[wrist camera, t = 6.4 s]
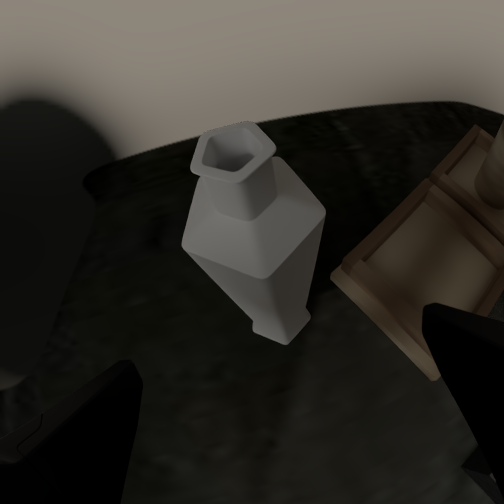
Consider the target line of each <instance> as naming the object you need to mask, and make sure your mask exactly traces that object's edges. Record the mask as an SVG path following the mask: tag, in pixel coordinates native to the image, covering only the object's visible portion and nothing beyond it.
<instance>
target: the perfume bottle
mask: <svg viewBox="0 0 504 504" xmlns="http://www.w3.org/2000/svg"><path fill="white" fill-rule="evenodd" d="M275 152H276V146H275V144H274V143H273V142H272V141H271V140H270V139H269V137H268V136H267V135H266V134H265V133H264V132H263V131H262V130H261V129H260V128H259V127H258V126H257V125H256V124H255V123H253V122H249V121H246V122H240V123H236V124H232V125H228V126H224V127H221V128H217V129H213V130H209V131H207V132H205V133H203V134H202V135H201V137H200V138H199V141H198V144H197V147H196V150H195V153H194V156H193V159H192V162H191V168H190V169H191V171H192V172H193V173H195V174H197V175H199V176H201V177H200V178H199V180H198V183H197V186H196V190H195V194H194V197H193V201H192V205H191V208H190V212H189V216H188V220H187V224H186V228H185V231H184V235H183V239H182V247H183V249H184V250H185V251H186V252H187V253H188V254H189V255H190V256H191V257H192V258H193V259H194V260H195V261H196V262H197V264H198V265H199V266H200V267H201V268H202V269H203V270H204V271H205V272H206V273H207V274H208V275H209V276H210V277H211V278H212V279H213V280H214V281H215V282H216V283H217V284H218V285H219V286H220V287H221V288H222V289H223V290H224V291H225V293H226V294H227V295H228V296H229V297H230V298H231V299H232V300H233V301H234V302H235V303H236V304H237V305H238V306H239V307H240V308H241V309H242V310H243V311H244V312H245V313H246V314H247V315H248V316H249V317H250V318H251V319H252V320H253V331H254V332H255V333H257V334H260V335H262V336H264V337H267V338H269V339H272V340H274V341H276V342H279V343H281V344H284V345H287V344H289V343H290V342H291V341H292V339H293V338H294V337H295V336H296V335H297V334H298V333H299V332H300V330H301V329H302V328H303V327H304V326H305V325H306V324H307V322H308V321H309V320H310V319H311V315H310V313H309V312H308V310H307V309H306V303H307V299H308V294H309V290H310V286H311V281H312V277H313V272H314V268H315V263H316V259H317V254H318V249H319V245H320V240H321V235H322V230H323V225H324V220H325V215H326V210H325V208H324V206H323V205H322V204H321V203H320V202H319V200H318V199H317V198H316V197H315V196H314V195H313V193H312V192H311V191H310V190H309V189H308V188H307V186H306V185H305V184H304V183H303V182H302V181H301V179H300V178H299V177H298V176H297V175H296V174H295V173H294V171H293V170H292V169H291V168H290V167H289V166H288V165H287V164H286V162H285V161H284V160H283V159H281V158H280V157H272V156H273V154H274V153H275Z"/></svg>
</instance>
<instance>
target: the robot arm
mask: <svg viewBox="0 0 504 504" xmlns="http://www.w3.org/2000/svg"><path fill="white" fill-rule="evenodd" d="M422 335H423V337H424V339H425V342H426V344H427V346H428V348H429V350H430V352H431V355H432V357H433V359H434V361H435V364H436V366H437V368H438V370H439V372H440V374H441V376H442V378H443V380H444V381H445V383H446V385H447V387H448V388H449V390H450V392H451V394H452V396H453V397H454V399H455V401H456V403H457V405H458V406H459V408H460V410H461V412H462V414H463V416H464V417H465V419H466V421H467V423H468V425H469V427H470V429H471V431H472V433H473V435H474V437H475V439H476V441H477V443H478V445H479V447H480V449H481V451H482V453H483V455H484V457H485V459H486V461H487V463H488V465H489V467H490V470H491V472H492V474H493V476H494V478H495V480H496V483H497V486H498V488H499V490H500V493H501V495H502V497H503V500H504V322H501V321H498V320H495V319H491V318H488V317H484V316H481V315H478V314H474V313H471V312H467V311H464V310H461V309H457V308H454V307H450V306H447V305H443V304H440V303H437V302H434V303H431V304H427V305H425V306H424V307H423V311H422ZM142 389H143V382H142V379H141V377H140V375H139V373H138V371H137V369H136V367H135V365H134V363H133V362H132V361H131V360H120V361H118V362H116V363H115V364H114V365H112V366H111V367H109V368H108V369H106V370H105V371H103V372H102V373H100V374H99V375H98V376H96V377H95V378H93V379H92V380H90V381H89V382H87V383H86V384H84V385H83V386H81V387H80V388H79V389H77V390H76V391H74V392H73V393H71V394H70V395H68V396H67V397H65V398H64V399H62V400H61V401H59V402H58V403H56V404H55V405H53V406H52V407H50V408H49V409H47V410H46V411H45V412H43V413H41V414H40V415H38V416H37V417H35V418H34V419H32V420H31V421H29V422H28V423H26V424H25V425H23V426H21V427H20V428H18V429H16V430H15V431H13V432H11V433H9V434H8V435H6V436H4V437H2V438H1V439H0V504H120V503H121V498H122V493H123V488H124V483H125V478H126V474H127V469H128V465H129V460H130V456H131V451H132V447H133V443H134V438H135V434H136V430H137V425H138V419H139V411H140V404H141V396H142Z"/></svg>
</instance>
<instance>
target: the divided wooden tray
mask: <svg viewBox="0 0 504 504" xmlns="http://www.w3.org/2000/svg"><path fill="white" fill-rule="evenodd" d="M494 140H495V138H493V137H492V136H491V135H489V134H488V133H487V132H485V131H484V130H483V129H481V128H480V127H479V126H477V125H476V124H475V125H474V126H473V127H472V129H471V130H470V131H469V132H468V133H467V134H466V135H465V136H464V137H463V139H462V140H461V141H460V142H459V143H458V144H457V145H456V146H455V147H454V148H453V150H452V151H451V152H450V153H449V154H448V155H447V156H446V157H445V158H444V159H443V160H442V161H441V162H440V163H439V165H438V166H437V167H436V168H435V169H434V170H433V171H432V172H431V174H430V177H429V178H428V179H427V178H425V179H424V180H423V181H422V182H421V183H420V184H419V185H418V186H417V187H416V188H415V189H414V190H413V191H412V192H411V193H410V194H409V195H408V196H407V198H406V199H405V200H404V201H403V202H402V203H401V204H400V205H399V206H397V207H396V208H395V209H394V210H393V211H392V212H391V213H390V214H389V215H388V216H387V217H386V218H385V219H384V220H383V221H382V222H381V223H380V224H379V225H378V226H377V227H376V228H375V229H374V230H373V231H372V232H371V233H370V234H369V235H368V236H367V237H366V238H365V239H363V240H362V241H361V242H360V243H359V244H358V245H357V246H356V247H355V248H354V249H353V250H352V251H351V252H350V253H349V254H347V255H346V256H345V257H344V258H343V260H342V264H341V265H340V266H339V267H338V268H336V269H335V270H334V271H333V272H332V273H331V277H330V279H331V280H332V281H333V282H334V283H335V284H336V285H337V286H338V287H339V288H340V289H341V290H342V291H343V292H344V293H345V294H346V295H347V296H348V297H349V298H350V299H351V300H352V301H353V302H354V303H355V304H356V305H357V306H358V307H359V308H360V309H361V310H362V311H363V312H364V313H365V314H366V315H367V316H368V317H369V318H370V319H371V320H372V321H373V322H374V323H375V324H376V325H377V326H378V327H379V328H380V329H381V330H382V331H383V332H384V333H385V334H386V335H387V336H388V337H389V338H390V339H391V340H392V341H393V342H394V343H395V344H396V345H397V346H398V347H399V348H400V349H401V350H402V351H403V352H404V353H405V354H406V355H407V356H408V357H409V358H410V359H411V361H412V362H413V363H414V364H415V365H416V366H417V367H418V368H419V369H420V370H421V371H422V372H423V373H424V374H425V375H426V376H427V377H428V378H429V379H430V380H431V381H435V380H437V379H438V378H439V377H440V376H441V374H440V372H439V370H438V368H437V366H436V364H435V361H434V359H433V357H432V355H431V352H430V350H429V348H428V346H427V344H426V342H425V339H424V337H423V335H422V311H423V307H424V306H425V305H427V304H431V303H434V302H437V303H440V304H443V305H447V306H450V307H454V308H457V309H461V310H464V311H467V312H471V313H474V314H478V315H481V316H484V317H487V316H488V314H489V313H490V311H491V310H492V308H493V306H494V305H495V303H496V301H497V300H498V298H499V296H500V295H501V293H502V291H503V290H504V209H503V210H498V209H494V208H492V207H490V206H489V205H487V204H486V203H485V202H484V201H483V200H482V199H481V198H480V197H479V195H478V194H477V192H476V189H475V186H474V179H475V177H476V175H477V173H478V171H479V169H480V167H481V165H482V164H483V162H484V160H485V158H486V156H487V154H488V152H489V150H490V148H491V146H492V144H493V142H494Z"/></svg>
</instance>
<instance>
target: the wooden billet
mask: <svg viewBox="0 0 504 504" xmlns="http://www.w3.org/2000/svg"><path fill="white" fill-rule="evenodd" d="M474 186H475V189H476V192H477V194H478V195H479V197H480V198H481V199H482V200H483V201H484V202H485V203H486V204H487V205H489V206H490V207H492V208H494V209H498V210H503V209H504V120H503V123H502V125H501V127H500V129H499V131H498V133H497V136H496V138H495V140H494V142H493V144H492V146H491V148H490V150H489V152H488V154H487V156H486V158H485V160H484V162H483V164H482V165H481V167H480V169H479V171H478V173H477V175H476V177H475V179H474Z"/></svg>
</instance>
